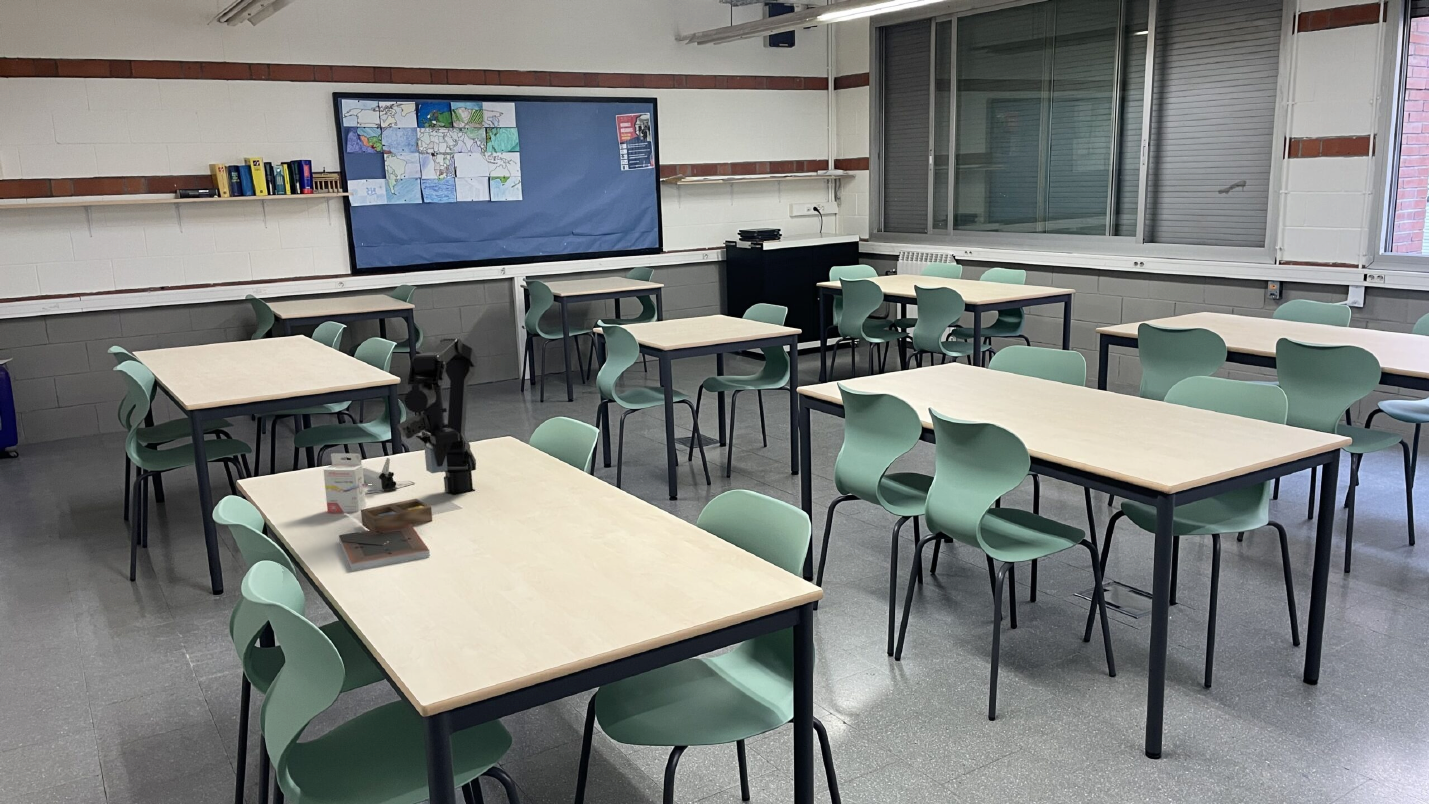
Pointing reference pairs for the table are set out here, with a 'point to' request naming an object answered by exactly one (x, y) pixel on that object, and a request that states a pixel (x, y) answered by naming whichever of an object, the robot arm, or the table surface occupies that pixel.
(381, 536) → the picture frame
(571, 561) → the table surface
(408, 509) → the socket block
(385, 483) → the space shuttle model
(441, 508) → the pad
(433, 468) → the plug
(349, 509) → the ink cartridge box
